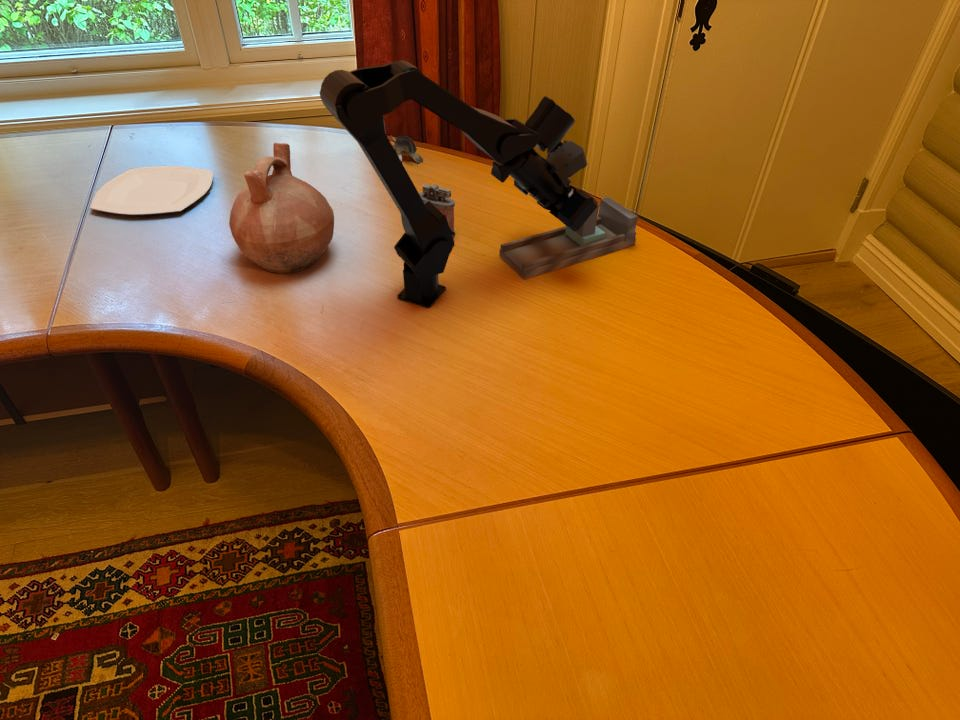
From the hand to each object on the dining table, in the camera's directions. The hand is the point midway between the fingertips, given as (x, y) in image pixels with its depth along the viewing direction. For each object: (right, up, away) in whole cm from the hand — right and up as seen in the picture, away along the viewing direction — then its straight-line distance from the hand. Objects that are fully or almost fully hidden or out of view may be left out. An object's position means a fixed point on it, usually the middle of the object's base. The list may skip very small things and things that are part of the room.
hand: (576, 215), depth 114 cm
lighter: (-27, -1, +9) cm, 28 cm away
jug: (-54, -8, +1) cm, 55 cm away
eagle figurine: (-37, +22, +35) cm, 55 cm away
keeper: (+2, -3, +5) cm, 6 cm away
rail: (-2, -6, +4) cm, 8 cm away
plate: (-89, +9, +19) cm, 91 cm away
